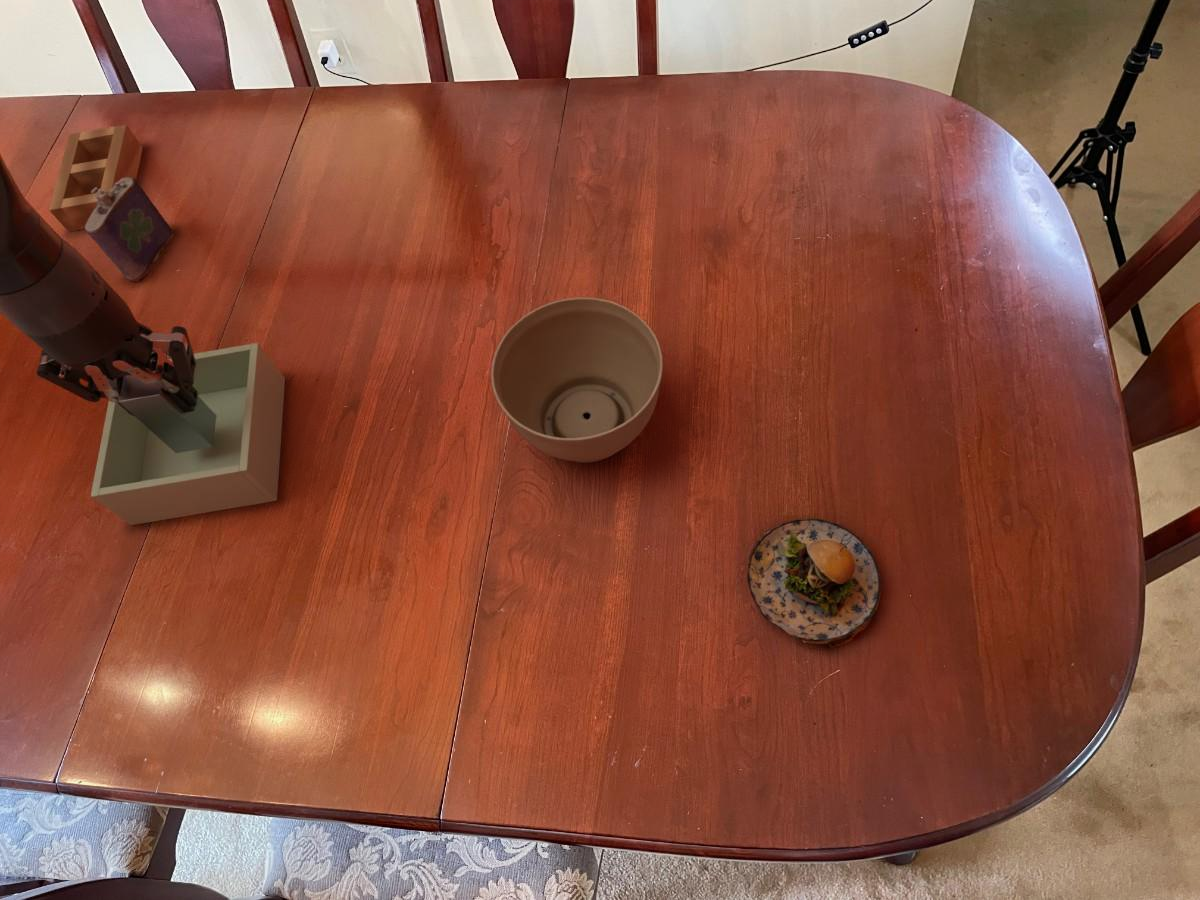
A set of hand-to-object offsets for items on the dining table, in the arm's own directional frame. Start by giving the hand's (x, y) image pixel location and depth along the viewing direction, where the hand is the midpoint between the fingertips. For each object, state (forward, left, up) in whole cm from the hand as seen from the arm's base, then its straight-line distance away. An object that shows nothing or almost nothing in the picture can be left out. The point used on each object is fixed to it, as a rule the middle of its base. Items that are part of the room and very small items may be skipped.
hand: (169, 408), depth 85 cm
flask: (-11, +31, -9) cm, 34 cm away
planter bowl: (+41, -5, -9) cm, 42 cm away
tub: (0, 0, -8) cm, 8 cm away
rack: (-19, +45, -8) cm, 50 cm away
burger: (+59, -26, -9) cm, 65 cm away
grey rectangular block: (0, 0, -5) cm, 5 cm away
